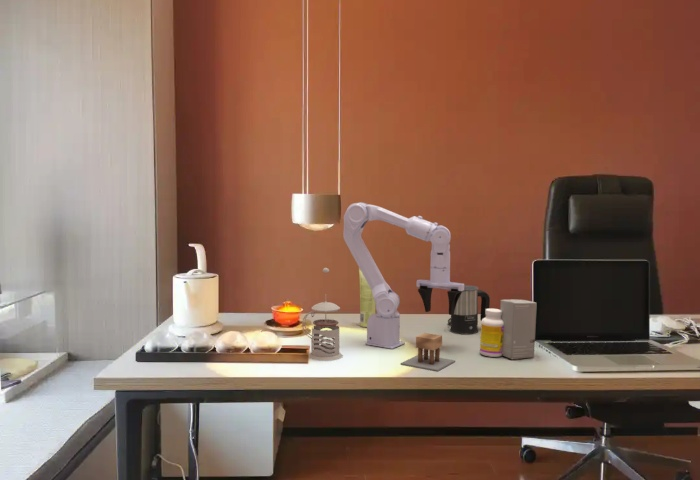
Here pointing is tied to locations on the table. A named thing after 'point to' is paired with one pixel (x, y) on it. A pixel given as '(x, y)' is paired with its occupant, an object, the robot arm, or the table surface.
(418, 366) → the pad
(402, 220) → the robot arm
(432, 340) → the tan box with knobs
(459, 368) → the table surface
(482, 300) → the milk frother
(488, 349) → the supplement bottle
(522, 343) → the skincare box
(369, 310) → the tube
